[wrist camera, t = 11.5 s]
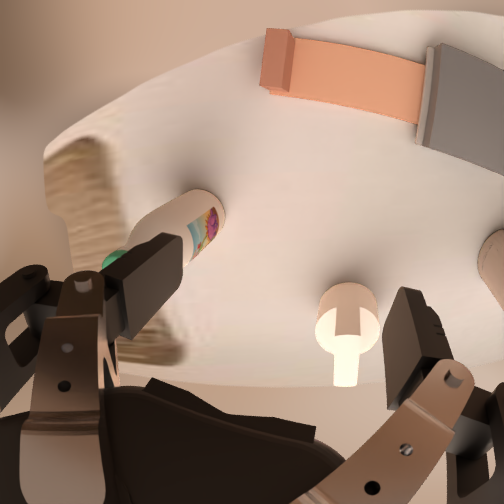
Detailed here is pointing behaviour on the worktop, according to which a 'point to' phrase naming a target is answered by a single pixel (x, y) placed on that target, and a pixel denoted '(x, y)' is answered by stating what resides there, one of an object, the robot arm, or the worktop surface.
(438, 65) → the grey square block
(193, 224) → the milk bottle
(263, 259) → the worktop surface
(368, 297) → the base with upright slab
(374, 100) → the peach l-shaped block
